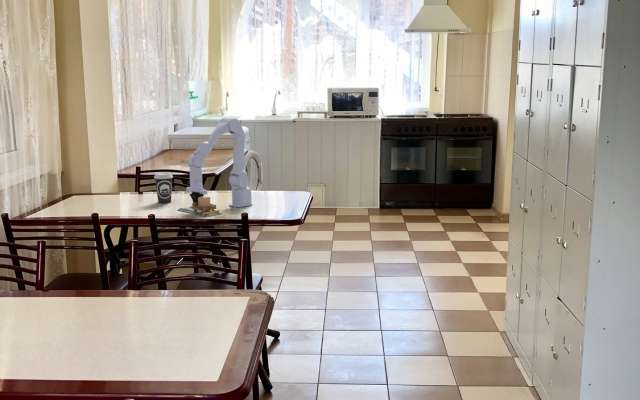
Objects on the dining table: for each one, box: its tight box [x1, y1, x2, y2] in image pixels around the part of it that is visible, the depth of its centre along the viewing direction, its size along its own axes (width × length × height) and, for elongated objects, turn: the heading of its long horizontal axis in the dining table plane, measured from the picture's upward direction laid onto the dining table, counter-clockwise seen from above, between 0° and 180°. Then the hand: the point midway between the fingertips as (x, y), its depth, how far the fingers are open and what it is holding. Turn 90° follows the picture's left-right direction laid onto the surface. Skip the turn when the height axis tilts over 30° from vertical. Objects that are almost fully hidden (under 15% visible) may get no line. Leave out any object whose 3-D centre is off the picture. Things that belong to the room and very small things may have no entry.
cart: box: [191, 202, 217, 213], centre depth 322 cm, size 8×8×4 cm
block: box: [198, 195, 211, 207], centre depth 322 cm, size 4×4×5 cm
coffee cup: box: [153, 171, 174, 204], centre depth 349 cm, size 10×10×15 cm
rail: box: [177, 205, 223, 218], centre depth 325 cm, size 9×23×2 cm, turn 46°
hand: (197, 207), depth 326 cm, fingers closed
